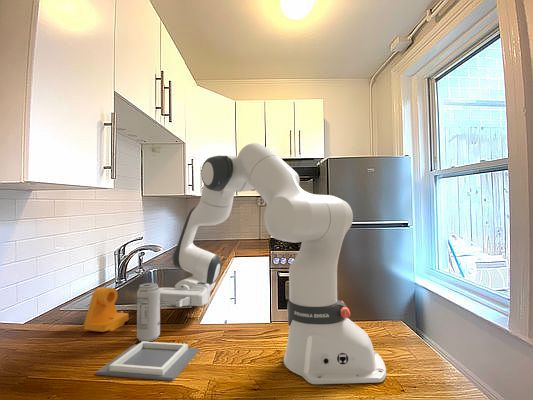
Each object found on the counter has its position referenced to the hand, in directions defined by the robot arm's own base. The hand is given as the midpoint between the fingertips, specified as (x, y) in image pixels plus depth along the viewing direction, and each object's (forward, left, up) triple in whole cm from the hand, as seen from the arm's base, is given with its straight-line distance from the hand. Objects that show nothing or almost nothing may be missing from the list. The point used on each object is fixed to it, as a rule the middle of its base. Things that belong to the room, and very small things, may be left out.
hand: (163, 303), depth 91 cm
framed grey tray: (-7, +19, -8) cm, 22 cm away
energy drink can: (+1, +7, -8) cm, 11 cm away
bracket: (+19, 0, -8) cm, 20 cm away
